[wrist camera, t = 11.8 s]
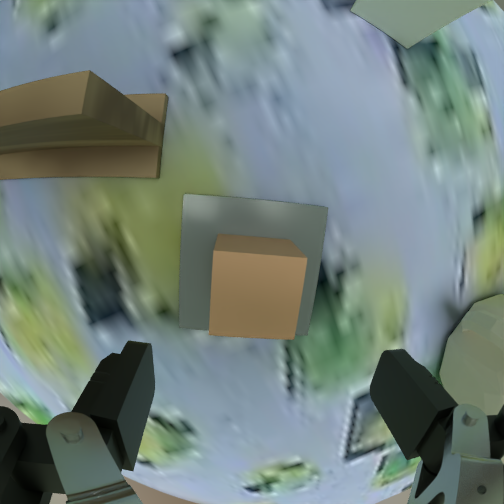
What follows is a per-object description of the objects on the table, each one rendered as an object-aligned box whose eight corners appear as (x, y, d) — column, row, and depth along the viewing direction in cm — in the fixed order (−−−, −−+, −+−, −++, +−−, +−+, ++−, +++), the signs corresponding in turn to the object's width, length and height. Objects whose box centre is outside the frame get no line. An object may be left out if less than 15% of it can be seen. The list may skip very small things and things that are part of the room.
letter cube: (218, 233, 20) (213, 250, 15) (290, 239, 21) (307, 258, 16) (213, 303, 21) (208, 337, 17) (280, 308, 22) (293, 342, 17)
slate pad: (185, 193, 20) (183, 194, 19) (324, 206, 21) (328, 207, 20) (180, 323, 23) (178, 327, 22) (305, 330, 23) (307, 335, 23)
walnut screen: (-5, 117, 17) (-96, 107, 5) (168, 97, 18) (104, 18, 7) (-11, 180, 18) (-106, 194, 7) (159, 177, 20) (74, 178, 8)
